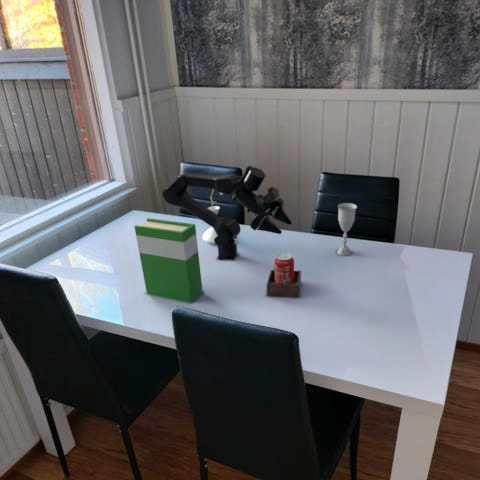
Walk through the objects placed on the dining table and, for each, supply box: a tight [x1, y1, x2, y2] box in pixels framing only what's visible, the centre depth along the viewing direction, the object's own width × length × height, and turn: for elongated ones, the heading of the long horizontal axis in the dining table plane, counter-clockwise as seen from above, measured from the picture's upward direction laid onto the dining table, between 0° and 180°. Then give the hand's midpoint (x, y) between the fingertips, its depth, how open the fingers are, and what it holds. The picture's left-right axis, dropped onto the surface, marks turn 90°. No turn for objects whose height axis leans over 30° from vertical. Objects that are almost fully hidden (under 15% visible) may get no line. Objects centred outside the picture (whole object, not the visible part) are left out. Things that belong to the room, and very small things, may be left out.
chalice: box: [337, 202, 358, 256], centre depth 172 cm, size 7×7×18 cm
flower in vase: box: [201, 189, 223, 244], centre depth 188 cm, size 13×11×25 cm
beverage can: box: [273, 252, 295, 284], centre depth 152 cm, size 6×6×12 cm
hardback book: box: [134, 217, 204, 304], centre depth 151 cm, size 18×7×24 cm, turn 64°
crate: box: [266, 269, 302, 298], centre depth 154 cm, size 10×10×4 cm
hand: (286, 228), depth 162 cm, fingers open, 9 cm apart
